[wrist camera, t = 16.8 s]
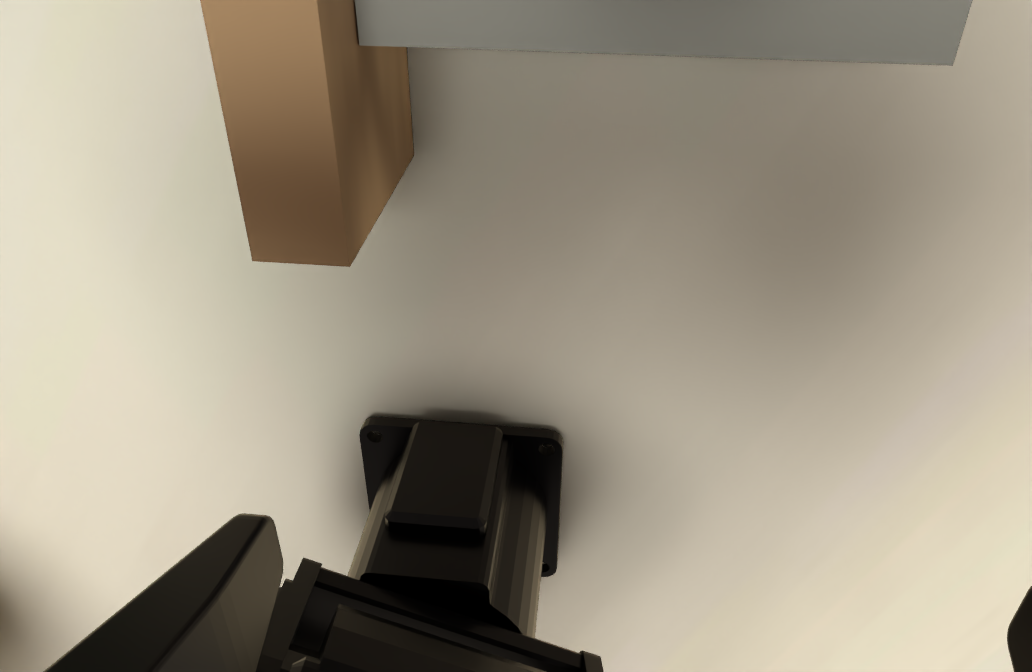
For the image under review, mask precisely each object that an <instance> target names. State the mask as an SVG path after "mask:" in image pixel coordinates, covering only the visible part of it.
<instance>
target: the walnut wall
mask: <svg viewBox="0 0 1032 672" xmlns="http://www.w3.org/2000/svg"><path fill="white" fill-rule="evenodd" d="M200 1H201V6H202V11H203V16H204V21H205V26H206V31H207V36H208V41H209V46H210V51H211V56H212V61H213V66H214V71H215V76H216V81H217V86H218V91H219V96H220V101H221V106H222V111H223V116H224V121H225V126H226V131H227V136H228V141H229V146H230V151H231V156H232V161H233V166H234V171H235V176H236V181H237V186H238V191H239V196H240V201H241V206H242V211H243V216H244V221H245V226H246V231H247V236H248V241H249V246H250V251H251V256H252V261H260V262H278V263H295V264H312V265H330V266H347V267H350V266H351V264H352V262H353V260H354V259H355V257H356V255H357V254H358V252H359V250H360V248H361V247H362V245H363V243H364V241H365V240H366V238H367V236H368V234H369V233H370V231H371V229H372V227H373V226H374V224H375V222H376V221H377V219H378V217H379V215H380V214H381V212H382V210H383V208H384V207H385V205H386V203H387V201H388V200H389V198H390V196H391V194H392V193H393V191H394V189H395V188H396V186H397V184H398V182H399V181H400V179H401V177H402V175H403V174H404V172H405V170H406V168H407V167H408V165H409V163H410V161H411V160H412V158H413V156H414V149H413V135H412V120H411V105H410V91H409V76H408V61H407V47H392V46H363V45H359V36H358V26H357V16H356V6H355V0H200Z"/></svg>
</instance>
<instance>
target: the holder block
mask: <svg viewBox="0 0 1032 672" xmlns="http://www.w3.org/2000/svg"><path fill="white" fill-rule="evenodd" d="M971 3H972V0H355V6H356V16H357V26H358V36H359V45H363V46H392V47H422V48H451V49H480V50H510V51H539V52H568V53H598V54H627V55H656V56H685V57H715V58H744V59H773V60H803V61H832V62H861V63H890V64H920V65H949V66H953V63H954V60H955V56H956V53H957V50H958V46H959V43H960V40H961V36H962V33H963V30H964V27H965V23H966V20H967V17H968V13H969V10H970V7H971Z"/></svg>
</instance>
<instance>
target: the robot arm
mask: <svg viewBox="0 0 1032 672" xmlns="http://www.w3.org/2000/svg"><path fill="white" fill-rule="evenodd" d="M372 431H378V432H379V433H381V434H380V435H378V434H375V433H373V432H372ZM360 442H361V449H362V457H363V464H364V472H365V479H366V487H367V494H368V501H369V509H370V513H369V516H368V519H367V522H366V525H365V528H364V530H363V533H362V536H361V539H360V542H359V545H358V548H357V550H356V553H355V556H354V559H353V562H352V565H351V568H350V570H349V573H348V576H346V575H343V574H340V573H337V572H334V571H331V570H328V569H325V568H322V567H321V566H322V564H321V563H318V562H315V561H312V560H309V559H306V558H303V559H302V562H301V564H300V566H299V568H298V571H297V573H296V575H295V577H294V580H293V581H292V580H289V579H285V581H284V584H283V586H282V587H280V588H279V586H280V583H281V579H282V573H283V558H282V553H281V549H280V545H279V540H278V536H277V531H276V527H275V524H274V521H273V519H272V518H271V517H270V516H267V515H256V514H239V515H237V516H235V517H233V518H232V519H231V520H229V521H228V522H227V523H226V524H224V525H223V526H222V527H221V528H220V529H218V530H217V531H216V532H215V533H213V534H212V535H211V536H210V537H209V538H207V539H206V540H205V541H204V542H202V543H201V544H200V545H199V546H197V547H196V548H195V549H194V550H193V551H191V552H190V553H189V554H188V555H186V556H185V557H184V558H183V559H181V560H180V561H179V562H178V563H177V564H175V565H174V566H173V567H172V568H170V569H169V570H168V571H167V572H165V573H164V574H163V575H162V576H161V577H159V578H158V579H157V580H156V581H154V582H153V583H152V584H151V585H149V586H148V587H147V588H146V589H145V590H143V591H142V592H141V593H140V594H138V595H137V596H136V597H135V598H133V599H132V600H131V601H130V602H129V603H127V604H126V605H125V606H124V607H122V608H121V609H120V610H119V611H118V612H116V613H115V614H114V615H113V616H111V617H110V618H109V619H108V620H106V621H105V622H104V623H103V624H102V625H100V626H99V627H98V628H97V629H95V630H94V631H93V632H92V633H90V634H89V635H88V636H87V637H86V638H84V639H83V640H82V641H81V642H79V643H78V644H77V645H76V646H74V647H73V648H72V649H71V650H70V651H68V652H67V653H66V654H65V655H63V656H62V657H61V658H60V659H58V660H57V661H56V662H55V663H54V664H52V665H51V666H50V667H49V668H47V669H46V670H45V671H44V672H603V667H602V662H601V657H600V656H597V655H594V654H591V653H588V652H585V651H580V653H577V652H574V651H571V650H568V649H565V648H562V647H559V646H556V645H553V644H550V643H547V642H544V641H541V640H538V639H535V630H536V620H537V610H538V600H539V591H540V581H541V577H548V576H551V575H553V574H554V573H555V572H556V569H557V559H558V539H559V519H560V499H561V479H562V459H563V438H562V437H561V435H560V434H559V433H557V432H556V431H554V430H549V429H538V428H525V427H511V426H498V425H484V424H470V423H457V422H443V421H430V420H416V419H403V418H389V417H370V418H368V419H366V420H365V422H364V423H363V425H362V428H361V430H360ZM542 444H551V445H552V447H544V446H542ZM542 562H543V563H542ZM1007 642H1008V649H1009V653H1010V657H1011V661H1012V665H1013V669H1014V672H1032V586H1031V587H1030V588H1029V590H1028V592H1027V594H1026V595H1025V597H1024V599H1023V601H1022V603H1021V604H1020V606H1019V608H1018V610H1017V612H1016V614H1015V615H1014V617H1013V619H1012V621H1011V623H1010V625H1009V628H1008V632H1007Z"/></svg>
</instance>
